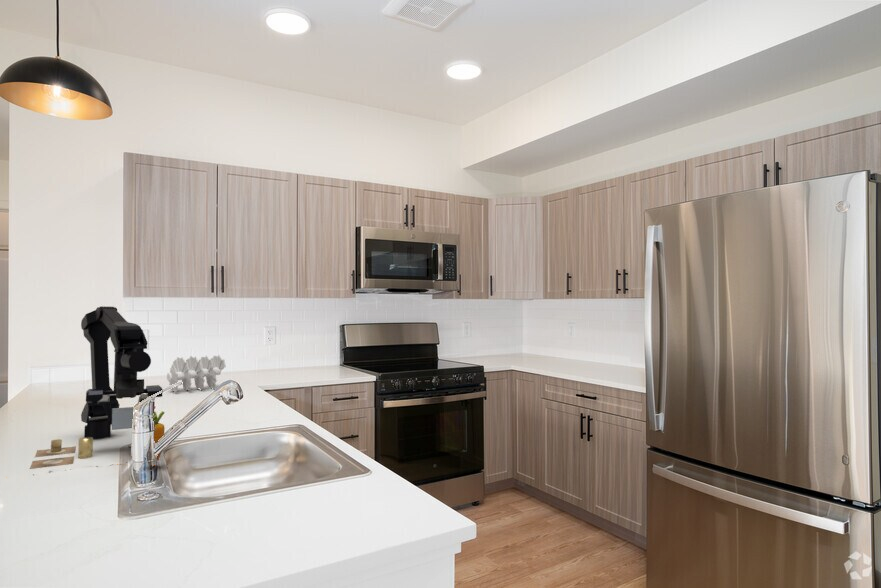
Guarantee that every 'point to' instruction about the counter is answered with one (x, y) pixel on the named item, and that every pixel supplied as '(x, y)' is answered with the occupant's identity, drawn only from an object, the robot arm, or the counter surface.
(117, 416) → the grey block
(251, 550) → the counter surface
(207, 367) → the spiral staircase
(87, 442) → the pin
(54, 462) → the build board
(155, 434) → the carrot
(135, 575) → the counter surface
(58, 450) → the board
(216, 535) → the counter surface
